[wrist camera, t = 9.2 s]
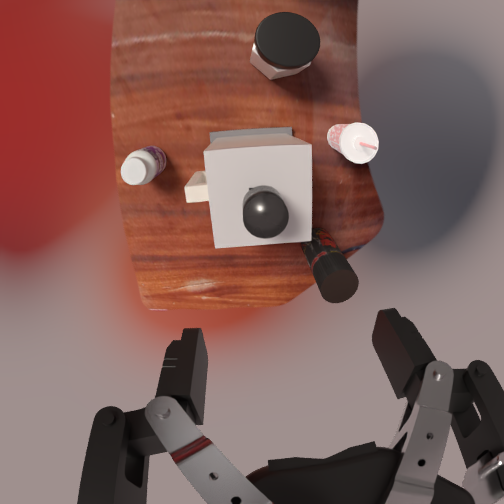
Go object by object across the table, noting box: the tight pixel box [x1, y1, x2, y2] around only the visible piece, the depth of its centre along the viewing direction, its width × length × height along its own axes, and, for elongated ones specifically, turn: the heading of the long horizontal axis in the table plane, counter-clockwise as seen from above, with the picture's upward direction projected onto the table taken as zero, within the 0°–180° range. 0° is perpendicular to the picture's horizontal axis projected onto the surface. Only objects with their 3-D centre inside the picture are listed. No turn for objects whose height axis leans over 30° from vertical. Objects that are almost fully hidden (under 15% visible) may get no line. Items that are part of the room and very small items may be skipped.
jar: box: [250, 12, 320, 80], centre depth 32 cm, size 9×8×12 cm
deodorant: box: [301, 228, 359, 303], centre depth 47 cm, size 6×6×15 cm
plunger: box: [242, 185, 289, 239], centre depth 31 cm, size 8×8×16 cm
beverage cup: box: [327, 123, 379, 164], centre depth 38 cm, size 6×6×14 cm
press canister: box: [185, 127, 312, 248], centre depth 38 cm, size 13×15×18 cm
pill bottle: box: [121, 146, 166, 185], centre depth 41 cm, size 5×5×10 cm
